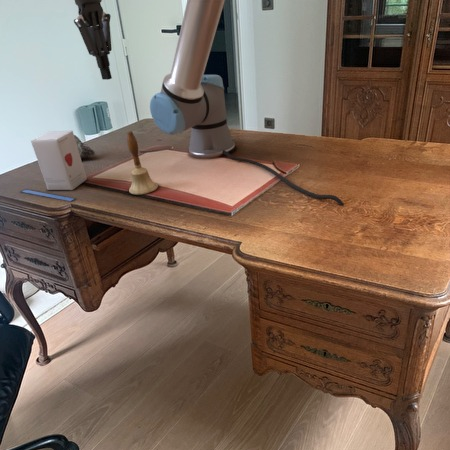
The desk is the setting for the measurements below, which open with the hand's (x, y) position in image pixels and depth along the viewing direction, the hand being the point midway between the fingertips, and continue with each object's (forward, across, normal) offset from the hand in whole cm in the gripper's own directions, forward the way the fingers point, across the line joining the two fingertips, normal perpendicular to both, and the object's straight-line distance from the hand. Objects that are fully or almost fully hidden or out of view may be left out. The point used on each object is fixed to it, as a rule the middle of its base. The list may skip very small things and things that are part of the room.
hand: (107, 78), depth 138 cm
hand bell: (+25, +22, +27) cm, 42 cm away
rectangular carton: (+25, +26, 0) cm, 36 cm away
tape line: (+24, +35, 0) cm, 43 cm away
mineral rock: (+25, +8, -16) cm, 31 cm away
